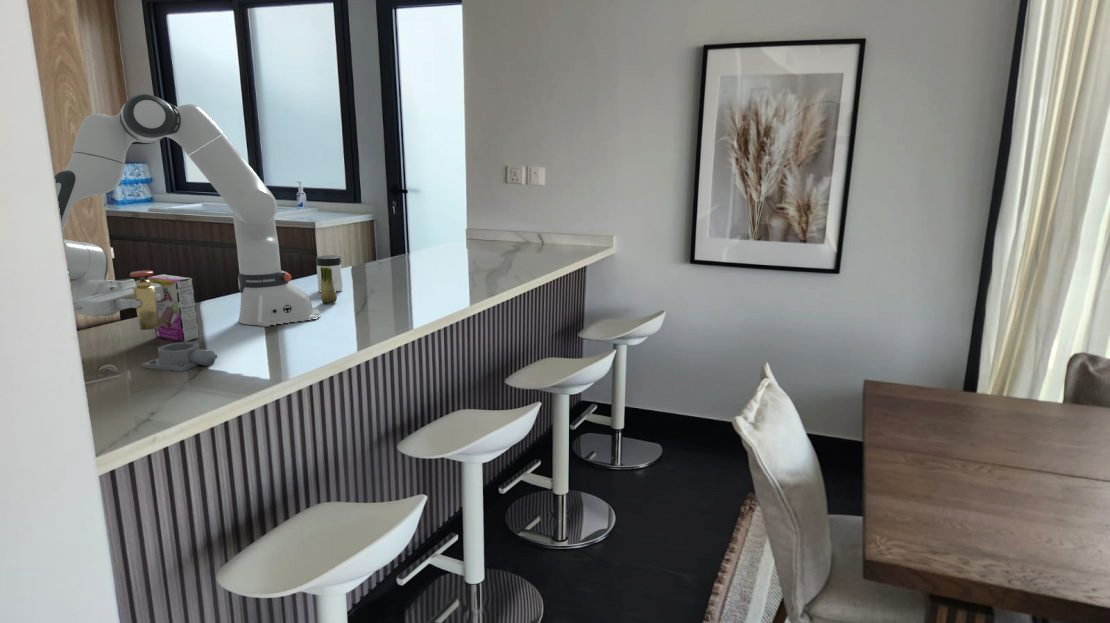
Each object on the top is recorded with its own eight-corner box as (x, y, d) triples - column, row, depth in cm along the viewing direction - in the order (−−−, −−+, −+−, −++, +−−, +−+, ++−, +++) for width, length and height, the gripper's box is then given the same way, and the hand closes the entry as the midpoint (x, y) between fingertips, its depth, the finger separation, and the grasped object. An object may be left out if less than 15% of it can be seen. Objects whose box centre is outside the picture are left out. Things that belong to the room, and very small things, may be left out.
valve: (162, 323, 170) (153, 269, 167) (160, 328, 166) (151, 273, 162) (139, 326, 168) (131, 271, 165) (137, 331, 164) (128, 275, 160)
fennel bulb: (321, 301, 224) (318, 265, 222) (336, 300, 226) (334, 264, 223) (321, 305, 219) (319, 268, 216) (337, 304, 221) (335, 267, 218)
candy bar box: (154, 337, 182) (146, 277, 178) (171, 333, 186) (163, 273, 182) (183, 343, 177) (176, 280, 173) (200, 338, 182) (193, 277, 178)
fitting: (142, 367, 158) (140, 351, 157) (179, 353, 168) (177, 338, 167) (192, 372, 154) (190, 356, 153) (227, 358, 164) (225, 343, 163)
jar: (324, 294, 236) (321, 259, 233) (313, 290, 241) (310, 257, 238) (348, 290, 242) (345, 257, 239) (337, 287, 247) (334, 254, 245)
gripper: (61, 294, 158) (109, 297, 154) (134, 277, 177) (179, 279, 174) (66, 321, 159) (113, 324, 156) (138, 301, 179) (182, 303, 175)
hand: (148, 300), depth 165 cm, fingers closed on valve, 4 cm apart
